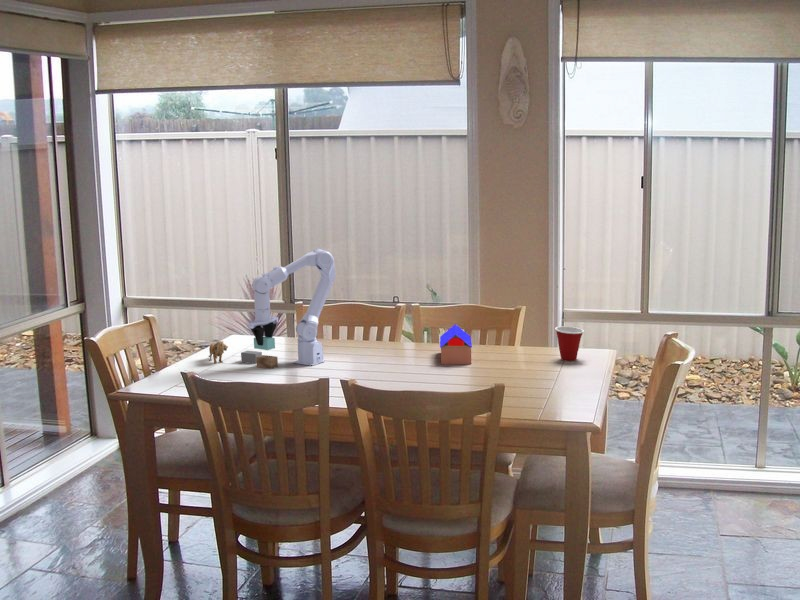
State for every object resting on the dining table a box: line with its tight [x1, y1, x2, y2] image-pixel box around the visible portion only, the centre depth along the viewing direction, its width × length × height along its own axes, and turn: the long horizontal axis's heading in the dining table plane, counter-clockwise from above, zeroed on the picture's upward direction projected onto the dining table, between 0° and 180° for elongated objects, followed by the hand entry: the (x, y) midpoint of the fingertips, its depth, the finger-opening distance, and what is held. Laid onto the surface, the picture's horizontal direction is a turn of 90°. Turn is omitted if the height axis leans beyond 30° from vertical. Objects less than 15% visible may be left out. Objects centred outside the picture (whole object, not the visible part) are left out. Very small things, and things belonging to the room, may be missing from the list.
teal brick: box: [253, 335, 276, 351], centre depth 338 cm, size 7×4×4 cm, turn 55°
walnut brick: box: [256, 354, 279, 370], centre depth 339 cm, size 7×4×4 cm, turn 60°
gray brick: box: [240, 350, 263, 365], centre depth 348 cm, size 7×4×4 cm, turn 62°
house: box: [439, 323, 473, 365], centre depth 345 cm, size 12×20×12 cm, turn 177°
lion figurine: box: [208, 340, 229, 365], centre depth 350 cm, size 15×5×9 cm, turn 35°
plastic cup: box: [554, 325, 585, 362], centre depth 339 cm, size 11×11×12 cm
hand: (264, 344), depth 338 cm, fingers closed on teal brick, 4 cm apart
